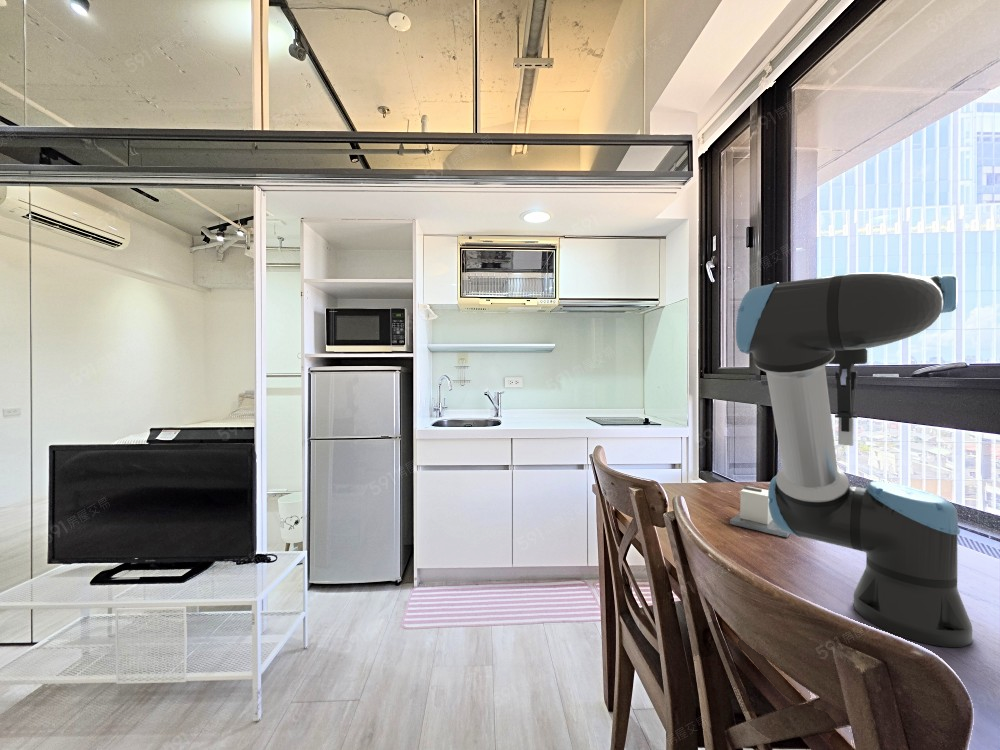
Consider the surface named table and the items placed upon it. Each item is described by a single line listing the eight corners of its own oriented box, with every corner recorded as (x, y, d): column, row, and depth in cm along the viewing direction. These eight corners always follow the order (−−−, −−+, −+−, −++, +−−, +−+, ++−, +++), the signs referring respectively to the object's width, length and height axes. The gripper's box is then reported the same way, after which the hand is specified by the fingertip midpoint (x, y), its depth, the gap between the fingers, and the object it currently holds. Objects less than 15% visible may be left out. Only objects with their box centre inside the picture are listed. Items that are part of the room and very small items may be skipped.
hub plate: (787, 537, 113) (787, 517, 113) (729, 523, 123) (730, 505, 123) (798, 524, 123) (798, 505, 123) (744, 512, 133) (744, 495, 133)
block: (773, 518, 124) (774, 489, 124) (767, 524, 119) (768, 494, 119) (743, 511, 130) (744, 483, 130) (736, 517, 125) (737, 488, 125)
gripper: (831, 349, 111) (830, 440, 111) (823, 347, 101) (821, 445, 102) (870, 348, 105) (868, 443, 105) (864, 346, 96) (863, 450, 96)
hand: (845, 444), depth 104 cm, fingers closed
